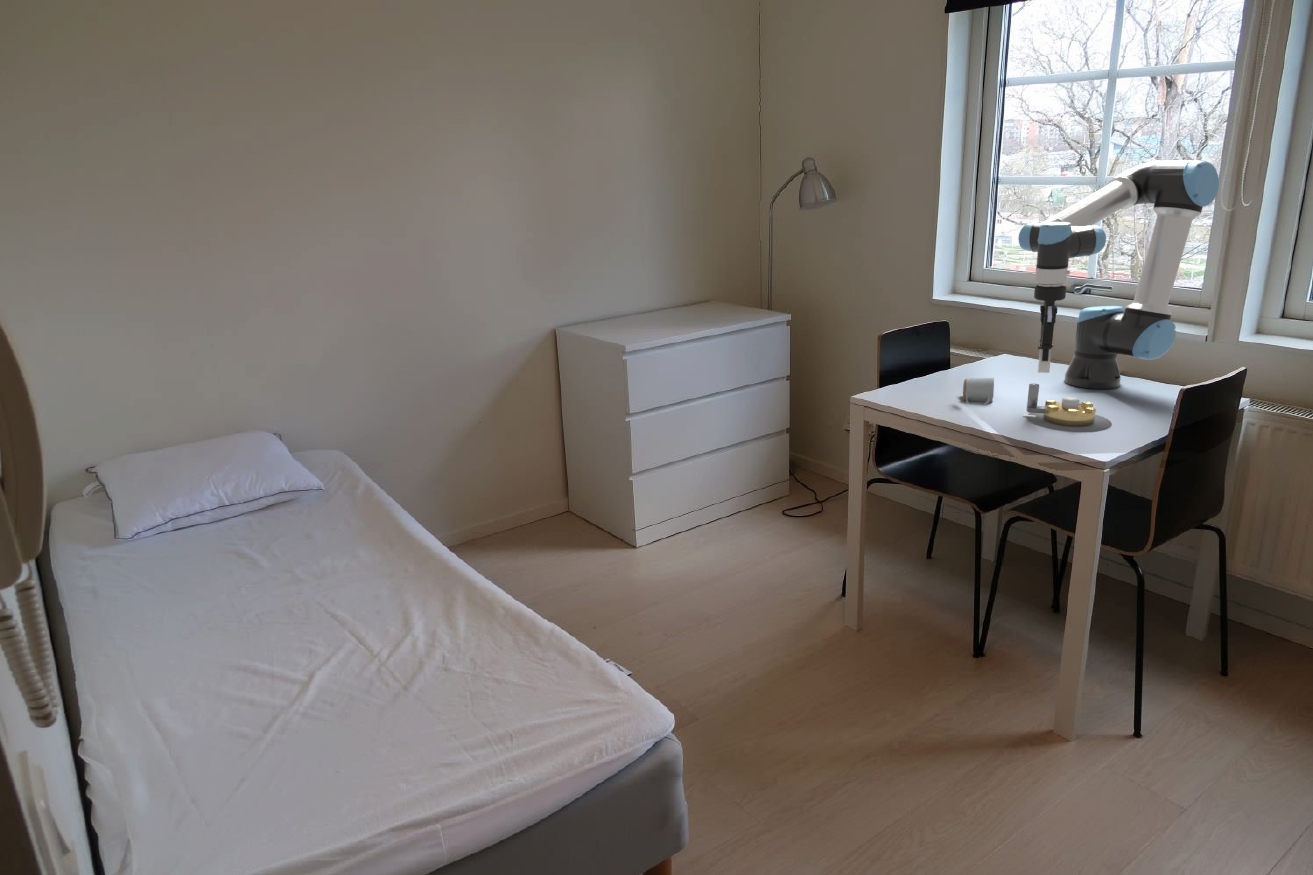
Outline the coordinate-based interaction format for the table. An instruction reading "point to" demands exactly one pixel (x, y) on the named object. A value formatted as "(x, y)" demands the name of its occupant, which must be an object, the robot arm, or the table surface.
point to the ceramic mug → (978, 390)
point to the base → (1070, 403)
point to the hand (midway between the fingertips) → (1043, 371)
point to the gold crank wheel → (1060, 410)
